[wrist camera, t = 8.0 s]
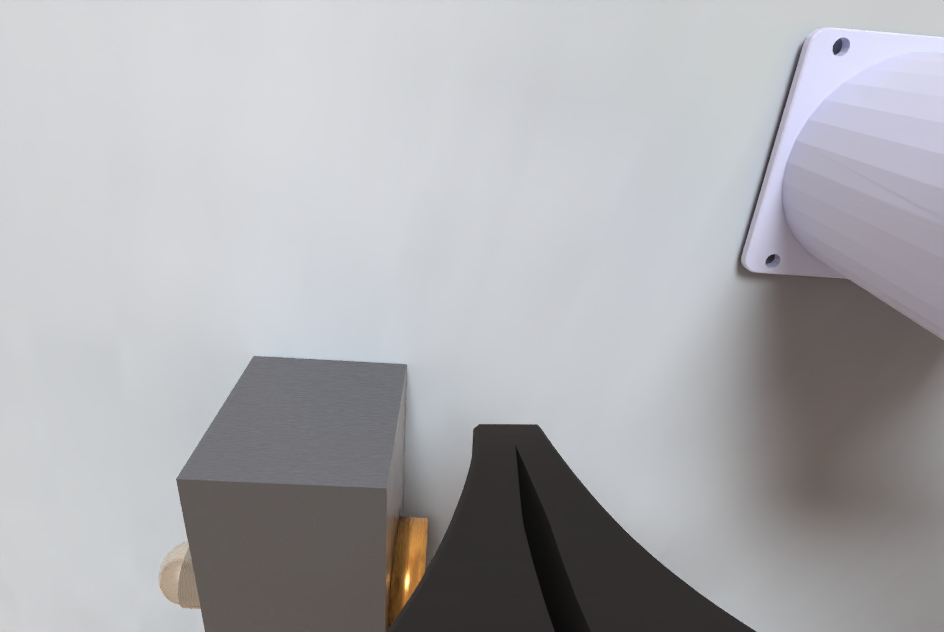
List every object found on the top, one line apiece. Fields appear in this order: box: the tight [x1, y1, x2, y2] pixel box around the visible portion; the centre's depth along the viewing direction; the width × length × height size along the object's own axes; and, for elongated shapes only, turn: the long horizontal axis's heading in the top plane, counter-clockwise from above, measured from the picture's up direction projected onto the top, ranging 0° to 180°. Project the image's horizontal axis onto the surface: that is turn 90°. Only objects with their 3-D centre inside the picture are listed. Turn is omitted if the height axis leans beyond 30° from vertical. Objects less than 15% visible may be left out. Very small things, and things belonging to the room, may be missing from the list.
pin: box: [159, 517, 428, 628], centre depth 24 cm, size 10×5×5 cm, turn 86°
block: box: [176, 356, 407, 632], centre depth 24 cm, size 6×16×7 cm, turn 176°
